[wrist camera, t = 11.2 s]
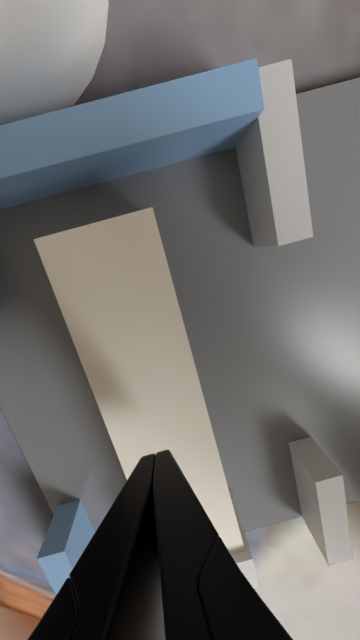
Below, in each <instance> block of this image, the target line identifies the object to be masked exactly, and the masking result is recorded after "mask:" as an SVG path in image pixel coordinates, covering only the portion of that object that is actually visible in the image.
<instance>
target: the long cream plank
mask: <svg viewBox="0 0 360 640" xmlns="http://www.w3.org/2000/svg"><path fill="white" fill-rule="evenodd" d="M34 242H35V245H36V247H37V250H38V252H39V255H40V257H41V260H42V263H43V265H44V268H45V270H46V273H47V276H48V278H49V281H50V283H51V286H52V288H53V291H54V294H55V296H56V299H57V301H58V304H59V306H60V309H61V312H62V314H63V317H64V319H65V322H66V324H67V327H68V330H69V332H70V335H71V337H72V340H73V342H74V345H75V348H76V350H77V353H78V355H79V358H80V361H81V363H82V366H83V368H84V371H85V373H86V376H87V379H88V381H89V384H90V386H91V389H92V391H93V394H94V397H95V399H96V402H97V404H98V407H99V409H100V412H101V415H102V417H103V420H104V422H105V425H106V427H107V430H108V433H109V435H110V438H111V440H112V443H113V446H114V448H115V451H116V453H117V456H118V458H119V461H120V464H121V466H122V469H123V471H124V474H125V476H126V479H127V480H128V478H129V476H130V475H131V473H132V471H133V470H134V468H135V467H136V465H137V463H138V462H139V460H140V458H141V457H142V456H145V455H149V454H152V453H154V454H156V453H157V452H160V451H163V450H167V449H168V450H170V452H171V453H172V455H173V457H174V458H175V460H176V462H177V464H178V465H179V467H180V469H181V470H182V472H183V474H184V476H185V477H186V479H187V481H188V483H189V484H190V486H191V488H192V489H193V491H194V493H195V495H196V496H197V498H198V500H199V501H200V503H201V505H202V507H203V508H204V510H205V512H206V513H207V515H208V517H209V519H210V520H211V522H212V524H213V526H214V527H215V529H216V531H217V532H218V534H219V537H221V539H222V541H223V542H224V544H225V546H226V548H227V549H228V551H229V553H230V554H231V556H232V557H233V559H234V560H235V562H236V564H237V565H238V567H239V568H240V570H241V572H242V573H243V574H244V576H245V577H246V579H247V580H248V581H249V583H250V584H251V586H252V587H253V588H254V589H255V588H259V587H260V585H259V581H258V578H257V574H256V570H255V566H254V562H253V559H252V555H251V552H250V549H249V545H248V542H247V539H246V535H245V532H244V529H243V526H242V522H241V519H240V516H239V512H238V509H237V506H236V502H235V499H234V496H233V492H232V489H231V490H229V489H228V485H227V482H226V478H225V474H224V471H223V467H222V463H221V459H220V456H219V452H218V448H217V445H216V441H215V437H214V433H213V430H212V426H211V422H210V419H209V415H208V411H207V408H206V404H205V400H204V396H203V393H202V389H201V385H200V382H199V378H198V374H197V370H196V367H195V363H194V359H193V356H192V352H191V348H190V345H189V341H188V337H187V333H186V330H185V326H184V322H183V319H182V315H181V311H180V307H179V304H178V300H177V296H176V293H175V289H174V285H173V282H172V278H171V274H170V270H169V267H168V263H167V259H166V256H165V252H164V248H163V244H162V241H161V237H160V233H159V230H158V226H157V222H156V219H155V215H154V211H153V207H151V208H147V209H143V210H140V211H136V212H132V213H128V214H125V215H121V216H117V217H114V218H110V219H106V220H103V221H99V222H95V223H92V224H88V225H84V226H81V227H77V228H73V229H70V230H66V231H62V232H59V233H55V234H51V235H48V236H44V237H40V238H37V239H34Z"/></svg>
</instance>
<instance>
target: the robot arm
mask: <svg viewBox="0 0 360 640" xmlns="http://www.w3.org/2000/svg"><path fill="white" fill-rule="evenodd" d="M69 576H70V578H67V579H66V580H65V582H64V584H63V585H62V587H61V589H60V590H59V592H58V593H57V595H56V597H55V598H54V600H53V601H52V603H51V605H50V606H49V608H48V609H47V611H46V612H45V614H44V615H43V617H42V619H41V620H40V622H39V623H38V625H37V627H36V628H35V630H34V631H33V632H32V634H31V635H30V637H29V638H28V640H293V639H292V638H291V637H290V635H289V634H288V633H287V632H286V630H285V629H284V628H283V626H282V625H281V624H280V623H279V621H278V620H277V619H276V617H275V616H274V615H273V613H272V612H271V611H270V610H269V608H268V607H267V606H266V604H265V603H264V602H263V600H262V599H261V598H260V597H259V595H258V594H257V592H256V591H255V590H254V588H253V587H252V586H251V584H250V583H249V581H248V580H247V579H246V577H245V576H244V574H243V573H242V572H241V570H240V568H239V567H238V565H237V564H236V562H235V560H234V559H233V557H232V556H231V554H230V553H229V551H228V549H227V548H226V546H225V544H224V542H223V541H222V539H221V537H219V534H218V532H217V531H216V529H215V527H214V526H213V524H212V522H211V520H210V519H209V517H208V515H207V513H206V512H205V510H204V508H203V507H202V505H201V503H200V501H199V500H198V498H197V496H196V495H195V493H194V491H193V489H192V488H191V486H190V484H189V483H188V481H187V479H186V477H185V476H184V474H183V472H182V470H181V469H180V467H179V465H178V464H177V462H176V460H175V458H174V457H173V455H172V453H171V452H170V450H168V449H167V450H163V451H160V452H157V453H156V454H154V453H152V454H149V455H145V456H142V457H141V458H140V460H139V462H138V463H137V465H136V467H135V468H134V470H133V471H132V473H131V475H130V476H129V478H128V480H127V481H126V483H125V484H124V486H123V488H122V489H121V491H120V493H119V494H118V496H117V497H116V499H115V501H114V502H113V504H112V506H111V507H110V509H109V511H108V512H107V514H106V515H105V517H104V519H103V520H102V522H101V524H100V525H99V527H98V528H97V530H96V532H95V533H94V535H93V537H92V538H91V540H90V542H89V543H88V545H87V546H86V548H85V550H84V551H83V553H82V555H81V556H80V558H79V559H78V561H77V563H76V564H75V566H74V568H73V569H72V571H71V572H70V575H69Z"/></svg>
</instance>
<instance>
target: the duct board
mask: <svg viewBox="0 0 360 640" xmlns="http://www.w3.org/2000/svg"><path fill="white" fill-rule="evenodd" d="M151 207H153V211H154V215H155V219H156V222H157V226H158V230H159V233H160V237H161V241H162V244H163V248H164V252H165V256H166V259H167V263H168V267H169V270H170V274H171V278H172V282H173V285H174V289H175V293H176V296H177V300H178V304H179V307H180V311H181V315H182V319H183V322H184V326H185V330H186V333H187V337H188V341H189V345H190V348H191V352H192V356H193V359H194V363H195V367H196V370H197V374H198V378H199V382H200V385H201V389H202V393H203V396H204V400H205V404H206V408H207V411H208V415H209V419H210V422H211V426H212V430H213V433H214V437H215V441H216V445H217V448H218V452H219V456H220V459H221V463H222V467H223V471H224V474H225V478H226V482H227V485H228V489H229V490H231V489H232V492H233V496H234V499H235V502H236V506H237V509H238V512H239V516H240V519H241V522H242V526H243V529H244V532H246V531H250V530H253V529H257V528H260V527H264V526H268V525H271V524H275V523H279V522H282V521H286V520H290V519H293V518H297V517H300V516H302V517H303V519H304V521H305V523H306V524H307V526H308V528H309V530H310V532H311V534H312V536H313V537H314V539H315V541H316V543H317V545H318V547H319V549H320V551H321V552H322V554H323V556H324V558H325V560H326V562H327V564H328V565H332V564H336V563H339V562H343V561H347V560H350V559H353V554H352V546H351V538H350V530H349V522H348V514H347V506H346V504H348V503H351V502H355V501H359V500H360V77H359V78H355V79H352V80H348V81H344V82H340V83H336V84H333V85H329V86H325V87H321V88H317V89H314V90H310V91H306V92H302V93H298V94H296V92H295V83H294V75H293V67H292V59H290V60H286V61H282V62H278V63H275V64H271V65H267V66H263V67H259V68H258V62H257V58H255V59H251V60H247V61H244V62H240V63H236V64H232V65H228V66H225V67H221V68H217V69H213V70H209V71H206V72H202V73H198V74H194V75H190V76H186V77H183V78H179V79H175V80H171V81H167V82H164V83H160V84H156V85H152V86H148V87H145V88H141V89H137V90H133V91H129V92H125V93H122V94H118V95H114V96H110V97H106V98H103V99H99V100H95V101H91V102H87V103H84V104H80V105H76V106H72V107H68V108H65V109H61V110H57V111H53V112H49V113H45V114H42V115H38V116H34V117H30V118H26V119H23V120H19V121H15V122H11V123H7V124H4V125H0V407H1V409H2V411H3V413H4V415H5V417H6V419H7V421H8V423H9V425H10V427H11V429H12V431H13V433H14V435H15V437H16V439H17V441H18V444H19V446H20V448H21V450H22V452H23V454H24V456H25V458H26V460H27V462H28V464H29V466H30V468H31V470H32V472H33V474H34V476H35V478H36V480H37V482H38V484H39V486H40V489H41V491H42V493H43V495H44V497H45V499H46V501H47V503H48V505H49V507H50V509H51V511H52V513H53V515H54V516H53V519H52V521H51V524H50V526H49V529H48V531H47V534H46V536H45V539H44V541H43V544H42V547H41V549H40V552H39V554H38V557H37V561H38V562H39V564H40V566H41V568H42V570H43V572H44V574H45V575H46V577H47V579H48V581H49V583H50V585H51V587H52V588H53V590H54V592H55V594H56V595H57V593H58V592H59V590H60V589H61V587H62V585H63V584H64V582H65V580H66V579H67V578H70V576H69V575H70V572H71V571H72V569H73V568H74V566H75V564H76V563H77V561H78V559H79V558H80V556H81V555H82V553H83V551H84V550H85V548H86V546H87V545H88V543H89V542H90V540H91V538H92V537H93V535H94V533H95V532H96V530H97V528H98V527H99V525H100V524H101V522H102V520H103V519H104V517H105V515H106V514H107V512H108V511H109V509H110V507H111V506H112V504H113V502H114V501H115V499H116V497H117V496H118V494H119V493H120V491H121V489H122V488H123V486H124V484H125V483H126V481H127V479H126V476H125V474H124V471H123V469H122V466H121V464H120V461H119V458H118V456H117V453H116V451H115V448H114V446H113V443H112V440H111V438H110V435H109V433H108V430H107V427H106V425H105V422H104V420H103V417H102V415H101V412H100V409H99V407H98V404H97V402H96V399H95V397H94V394H93V391H92V389H91V386H90V384H89V381H88V379H87V376H86V373H85V371H84V368H83V366H82V363H81V361H80V358H79V355H78V353H77V350H76V348H75V345H74V342H73V340H72V337H71V335H70V332H69V330H68V327H67V324H66V322H65V319H64V317H63V314H62V312H61V309H60V306H59V304H58V301H57V299H56V296H55V294H54V291H53V288H52V286H51V283H50V281H49V278H48V276H47V273H46V270H45V268H44V265H43V263H42V260H41V257H40V255H39V252H38V250H37V247H36V245H35V242H34V239H37V238H40V237H44V236H48V235H51V234H55V233H59V232H62V231H66V230H70V229H73V228H77V227H81V226H84V225H88V224H92V223H95V222H99V221H103V220H106V219H110V218H114V217H117V216H121V215H125V214H128V213H132V212H136V211H140V210H143V209H147V208H151Z"/></svg>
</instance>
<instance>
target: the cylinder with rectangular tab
mask: <svg viewBox="0 0 360 640" xmlns="http://www.w3.org/2000/svg"><path fill="white" fill-rule="evenodd" d="M108 5H109V3H108V0H0V125H4V124H7V123H11V122H15V121H19V120H23V119H26V118H30V117H34V116H38V115H42V114H45V113H49V112H53V111H57V110H61V109H65V108H68V107H72V106H74V105H75V103H76V102H77V100H78V99H79V97H80V96H81V95H82V93H83V92H84V90H85V89H86V87H87V86H88V84H89V83H90V81H91V80H92V78H93V76H94V73H95V70H96V68H97V65H98V62H99V59H100V56H101V53H102V50H103V47H104V44H105V36H106V26H107V15H108Z"/></svg>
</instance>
